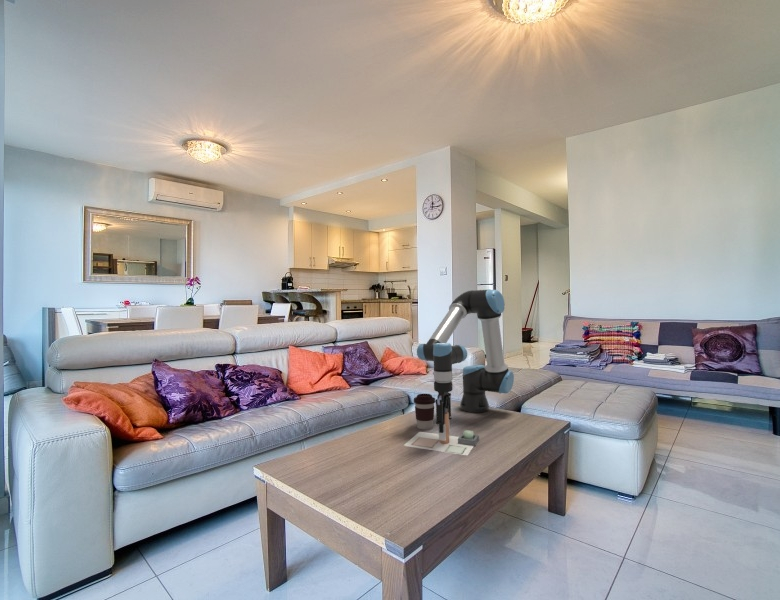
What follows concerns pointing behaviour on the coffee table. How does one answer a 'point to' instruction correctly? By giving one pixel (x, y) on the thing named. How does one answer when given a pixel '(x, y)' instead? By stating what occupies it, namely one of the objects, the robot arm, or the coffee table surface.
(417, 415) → the coffee cup
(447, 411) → the marker
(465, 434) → the button
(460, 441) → the button housing
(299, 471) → the coffee table surface
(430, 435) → the sheet
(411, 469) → the coffee table surface
